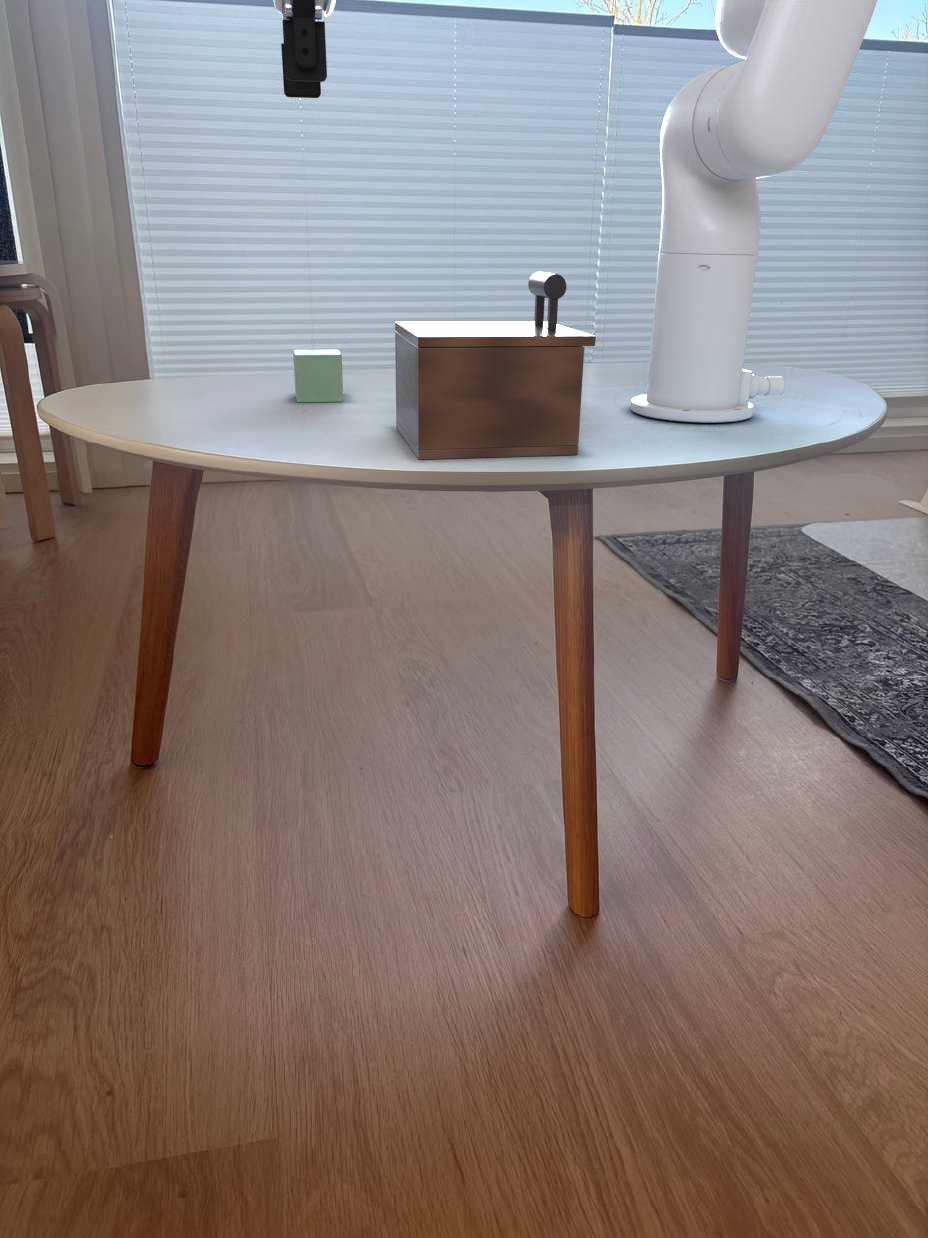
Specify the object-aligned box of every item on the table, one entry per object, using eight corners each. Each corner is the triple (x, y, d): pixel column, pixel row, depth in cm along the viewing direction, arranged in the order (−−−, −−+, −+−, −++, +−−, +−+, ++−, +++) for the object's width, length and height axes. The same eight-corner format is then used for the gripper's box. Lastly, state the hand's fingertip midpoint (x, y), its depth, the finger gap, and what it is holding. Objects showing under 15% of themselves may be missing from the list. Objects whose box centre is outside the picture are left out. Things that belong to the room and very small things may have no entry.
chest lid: (547, 330, 87) (550, 270, 85) (595, 345, 75) (600, 276, 73) (395, 330, 85) (394, 268, 83) (418, 347, 72) (417, 274, 70)
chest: (534, 424, 91) (538, 330, 87) (578, 454, 78) (584, 346, 75) (396, 428, 88) (395, 331, 85) (418, 459, 76) (418, 347, 72)
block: (339, 394, 106) (338, 349, 104) (343, 401, 102) (341, 354, 100) (295, 395, 105) (292, 349, 103) (297, 402, 101) (294, 354, 99)
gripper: (349, -212, 64) (358, 75, 70) (333, -124, 79) (342, 103, 86) (237, -222, 62) (257, 71, 69) (244, -131, 78) (259, 101, 85)
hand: (304, 89), depth 77 cm, fingers open, 9 cm apart
